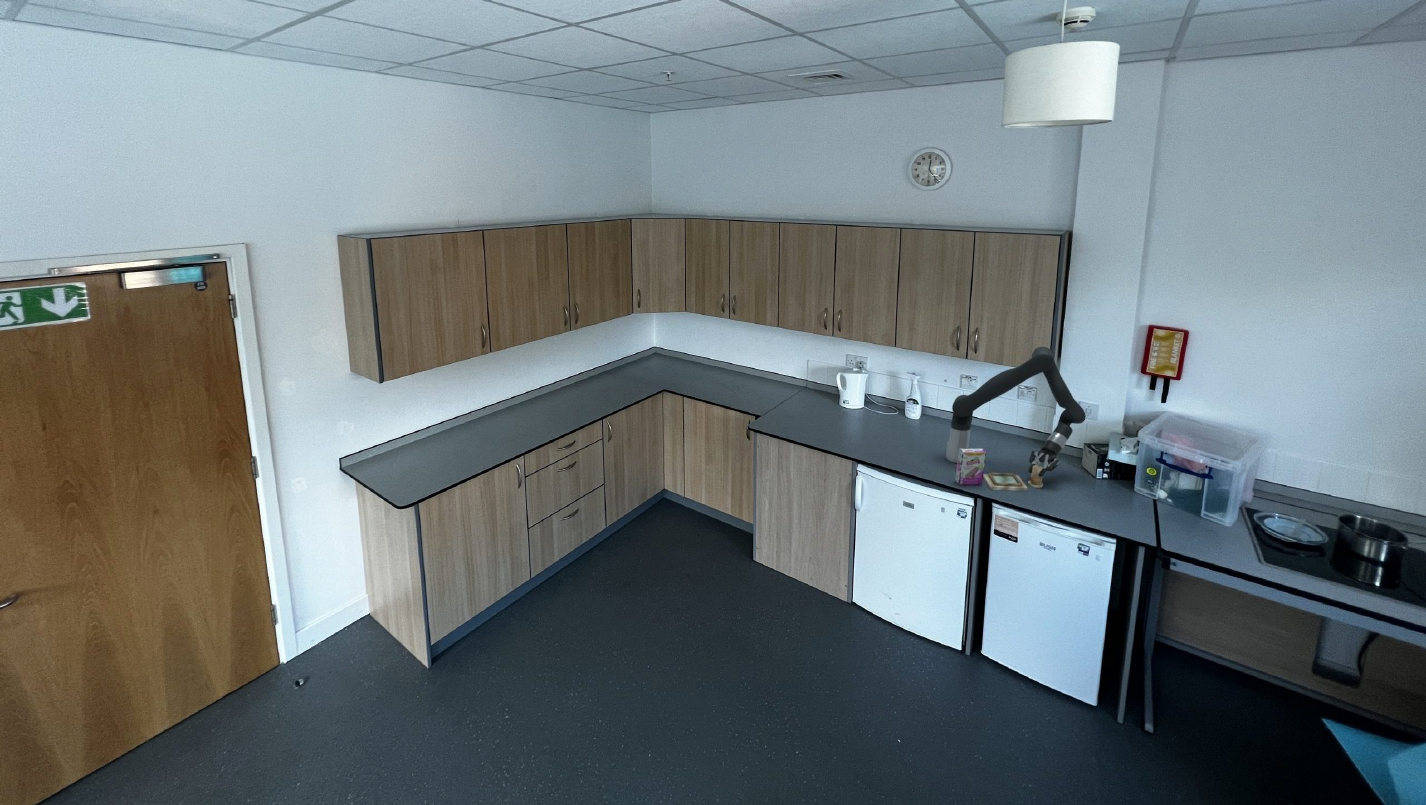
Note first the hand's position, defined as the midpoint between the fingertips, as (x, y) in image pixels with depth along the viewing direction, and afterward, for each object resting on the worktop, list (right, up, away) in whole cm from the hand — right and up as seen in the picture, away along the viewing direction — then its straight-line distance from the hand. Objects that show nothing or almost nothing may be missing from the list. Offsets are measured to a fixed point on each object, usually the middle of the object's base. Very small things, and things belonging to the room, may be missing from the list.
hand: (1034, 474), depth 324 cm
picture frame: (-12, -5, +4) cm, 14 cm away
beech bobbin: (+2, -5, +3) cm, 6 cm away
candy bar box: (-28, -5, +5) cm, 29 cm away
